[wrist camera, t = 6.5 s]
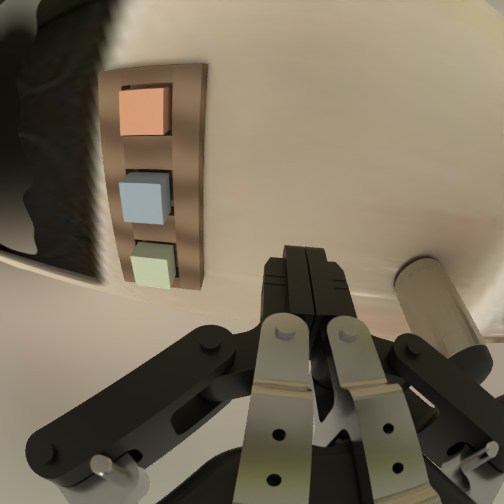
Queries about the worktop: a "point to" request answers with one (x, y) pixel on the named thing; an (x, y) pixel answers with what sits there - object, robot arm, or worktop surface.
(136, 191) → the slate blue button
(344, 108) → the worktop surface
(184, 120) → the button panel
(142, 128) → the terracotta button
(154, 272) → the sage green button
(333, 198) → the worktop surface
